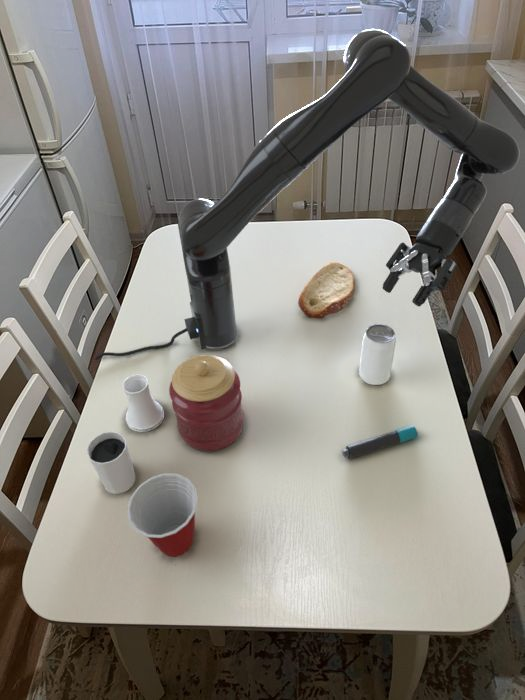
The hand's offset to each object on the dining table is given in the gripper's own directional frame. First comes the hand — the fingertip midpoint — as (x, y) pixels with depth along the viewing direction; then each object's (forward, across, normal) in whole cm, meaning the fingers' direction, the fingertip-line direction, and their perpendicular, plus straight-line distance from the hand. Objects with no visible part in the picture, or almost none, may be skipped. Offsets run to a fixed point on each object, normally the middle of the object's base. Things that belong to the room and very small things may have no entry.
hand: (400, 297), depth 109 cm
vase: (+48, -17, -26) cm, 57 cm away
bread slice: (+5, -28, +8) cm, 30 cm away
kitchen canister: (+41, -8, -18) cm, 46 cm away
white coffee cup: (+56, -6, -31) cm, 65 cm away
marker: (+27, +13, +1) cm, 30 cm away
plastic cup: (+56, +10, -26) cm, 63 cm away
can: (+16, 0, +7) cm, 18 cm away
